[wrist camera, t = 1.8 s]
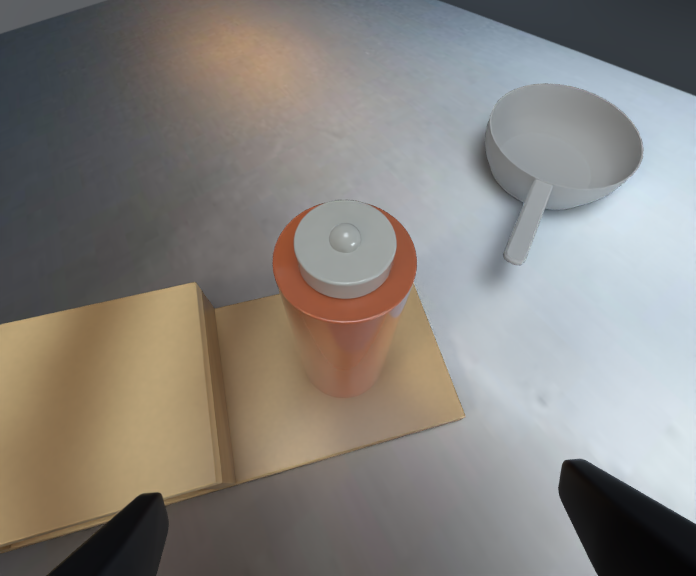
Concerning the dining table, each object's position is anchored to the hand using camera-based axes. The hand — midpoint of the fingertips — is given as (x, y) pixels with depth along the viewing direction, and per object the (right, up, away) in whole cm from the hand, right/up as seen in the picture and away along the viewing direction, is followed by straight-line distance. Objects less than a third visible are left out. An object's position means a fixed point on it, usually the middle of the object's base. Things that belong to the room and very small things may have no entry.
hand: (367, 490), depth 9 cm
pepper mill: (-1, 0, +14) cm, 14 cm away
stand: (-7, -1, +14) cm, 16 cm away
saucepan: (+13, +11, +21) cm, 27 cm away
